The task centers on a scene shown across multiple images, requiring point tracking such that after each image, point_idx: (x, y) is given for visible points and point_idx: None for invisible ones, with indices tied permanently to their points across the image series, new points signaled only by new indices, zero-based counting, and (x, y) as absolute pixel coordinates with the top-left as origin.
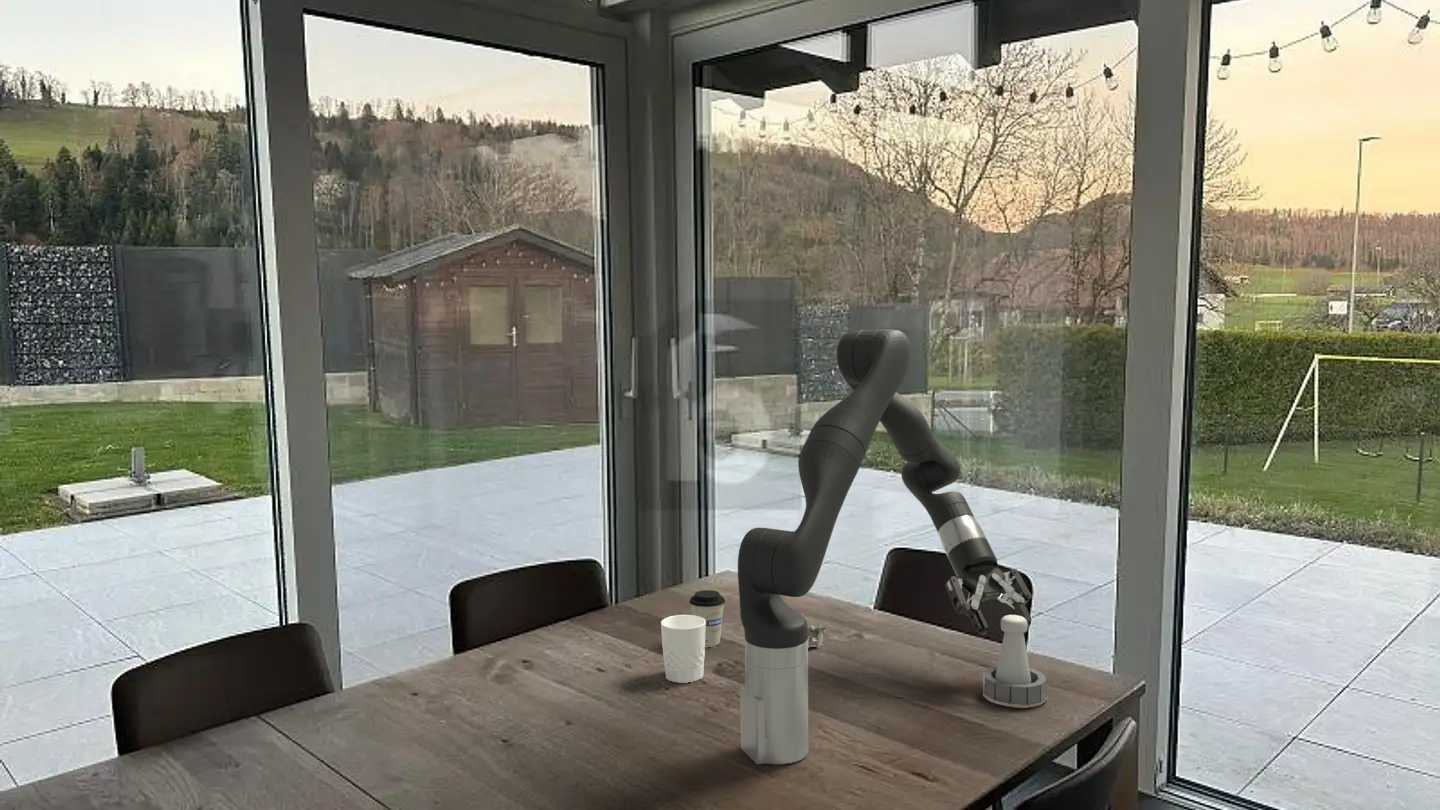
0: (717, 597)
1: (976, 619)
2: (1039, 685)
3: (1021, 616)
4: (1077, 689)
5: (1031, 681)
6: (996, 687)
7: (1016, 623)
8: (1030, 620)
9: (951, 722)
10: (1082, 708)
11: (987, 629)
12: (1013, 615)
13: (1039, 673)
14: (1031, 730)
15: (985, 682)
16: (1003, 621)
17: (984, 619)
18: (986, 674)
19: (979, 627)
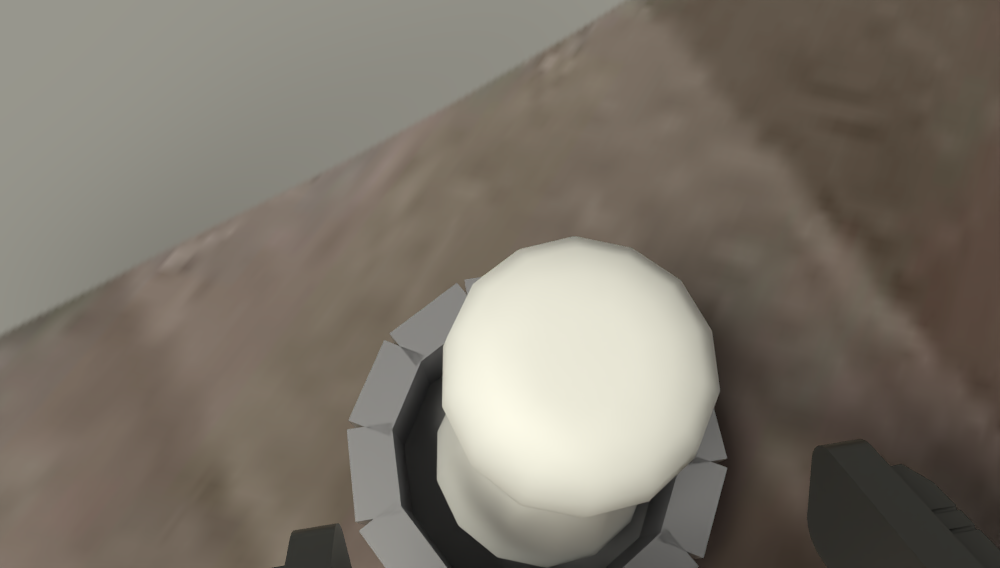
0: None
1: (977, 536)
2: (469, 279)
3: (484, 370)
4: (152, 461)
5: (404, 487)
6: None
7: (614, 248)
8: (291, 540)
9: (949, 253)
10: (292, 243)
11: (832, 445)
12: (569, 402)
13: (369, 438)
14: (635, 107)
15: (718, 462)
16: (714, 351)
17: (885, 507)
18: (699, 510)
19: (916, 481)
